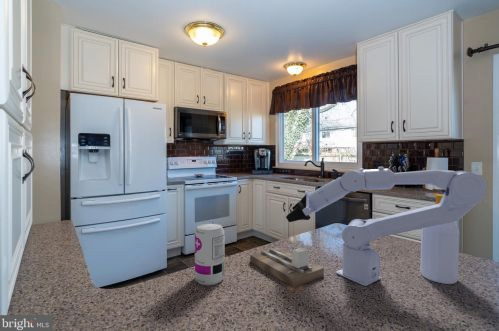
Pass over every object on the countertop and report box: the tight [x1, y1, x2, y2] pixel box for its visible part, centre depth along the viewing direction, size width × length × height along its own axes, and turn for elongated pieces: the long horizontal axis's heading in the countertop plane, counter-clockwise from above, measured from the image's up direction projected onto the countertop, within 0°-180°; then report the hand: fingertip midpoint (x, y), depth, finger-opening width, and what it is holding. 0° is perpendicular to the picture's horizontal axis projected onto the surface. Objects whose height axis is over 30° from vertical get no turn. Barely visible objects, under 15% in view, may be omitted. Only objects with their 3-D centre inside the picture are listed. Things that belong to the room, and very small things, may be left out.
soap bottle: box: [419, 192, 460, 285], centre depth 74 cm, size 9×9×24 cm
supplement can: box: [194, 222, 226, 286], centre depth 72 cm, size 8×8×15 cm
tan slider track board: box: [249, 247, 325, 289], centre depth 79 cm, size 20×12×3 cm, turn 35°
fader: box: [291, 246, 310, 270], centre depth 74 cm, size 3×4×5 cm
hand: (290, 214), depth 85 cm, fingers open, 7 cm apart
